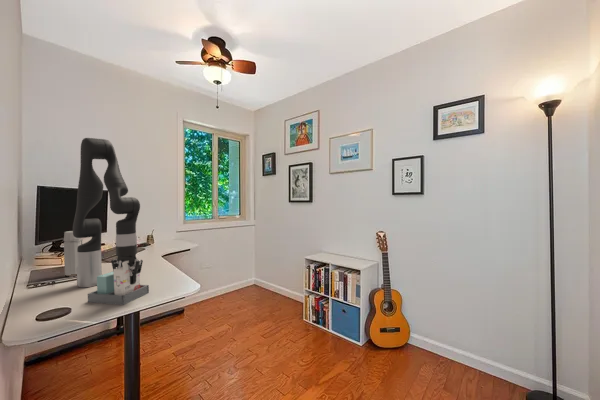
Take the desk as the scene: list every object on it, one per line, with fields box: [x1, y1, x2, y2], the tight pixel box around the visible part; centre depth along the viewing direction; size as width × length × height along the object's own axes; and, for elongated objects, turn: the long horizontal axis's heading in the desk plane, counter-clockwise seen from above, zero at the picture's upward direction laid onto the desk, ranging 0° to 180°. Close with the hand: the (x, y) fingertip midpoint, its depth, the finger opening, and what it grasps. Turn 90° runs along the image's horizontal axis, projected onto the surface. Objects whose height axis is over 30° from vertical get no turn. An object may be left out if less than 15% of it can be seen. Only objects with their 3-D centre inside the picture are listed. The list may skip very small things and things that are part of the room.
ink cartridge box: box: [112, 257, 141, 295], centre depth 110 cm, size 9×5×15 cm, turn 168°
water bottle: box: [63, 230, 84, 276], centre depth 146 cm, size 9×8×25 cm
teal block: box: [96, 271, 114, 294], centre depth 111 cm, size 5×9×10 cm, turn 169°
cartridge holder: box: [87, 284, 150, 306], centre depth 111 cm, size 17×13×4 cm
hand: (127, 283), depth 110 cm, fingers closed on ink cartridge box, 5 cm apart
